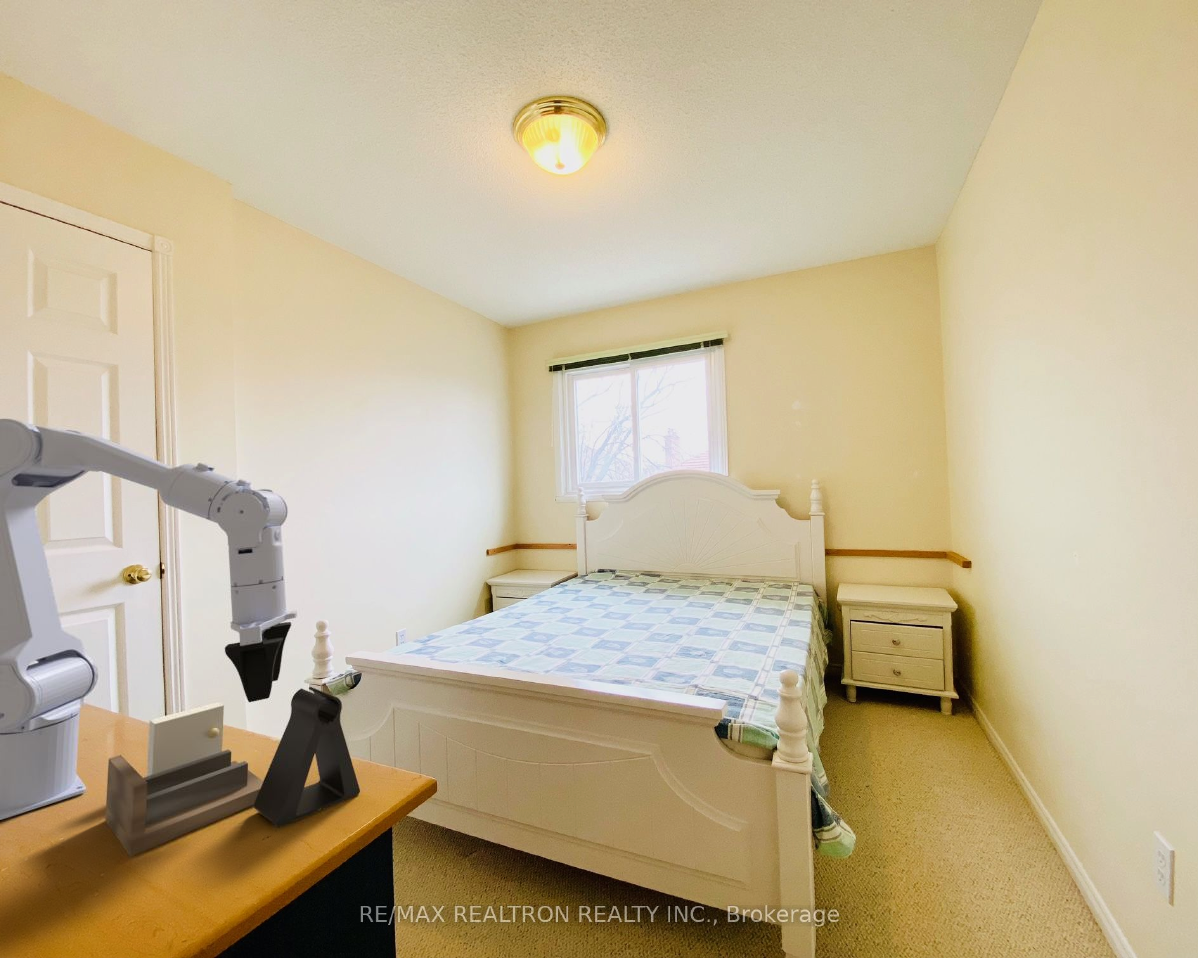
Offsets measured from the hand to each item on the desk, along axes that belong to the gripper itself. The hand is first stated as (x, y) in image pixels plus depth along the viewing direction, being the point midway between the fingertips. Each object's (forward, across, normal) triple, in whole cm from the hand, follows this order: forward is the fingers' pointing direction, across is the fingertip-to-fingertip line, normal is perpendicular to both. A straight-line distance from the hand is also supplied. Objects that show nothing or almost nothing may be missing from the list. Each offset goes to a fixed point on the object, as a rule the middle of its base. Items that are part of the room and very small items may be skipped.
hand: (264, 690), depth 64 cm
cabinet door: (+10, +5, +10) cm, 15 cm away
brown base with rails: (+10, -4, +7) cm, 13 cm away
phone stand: (+11, -9, -5) cm, 15 cm away
